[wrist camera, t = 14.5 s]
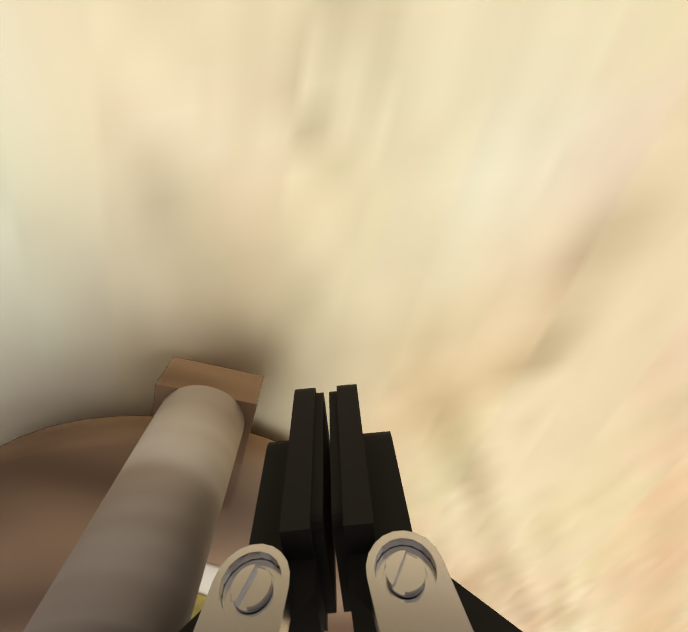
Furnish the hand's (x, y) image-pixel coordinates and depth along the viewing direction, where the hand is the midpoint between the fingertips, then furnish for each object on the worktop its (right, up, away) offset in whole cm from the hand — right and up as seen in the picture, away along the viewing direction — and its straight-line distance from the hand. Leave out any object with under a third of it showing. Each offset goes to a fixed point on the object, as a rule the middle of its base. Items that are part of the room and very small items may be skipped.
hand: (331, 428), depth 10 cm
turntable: (-7, -8, +7) cm, 13 cm away
